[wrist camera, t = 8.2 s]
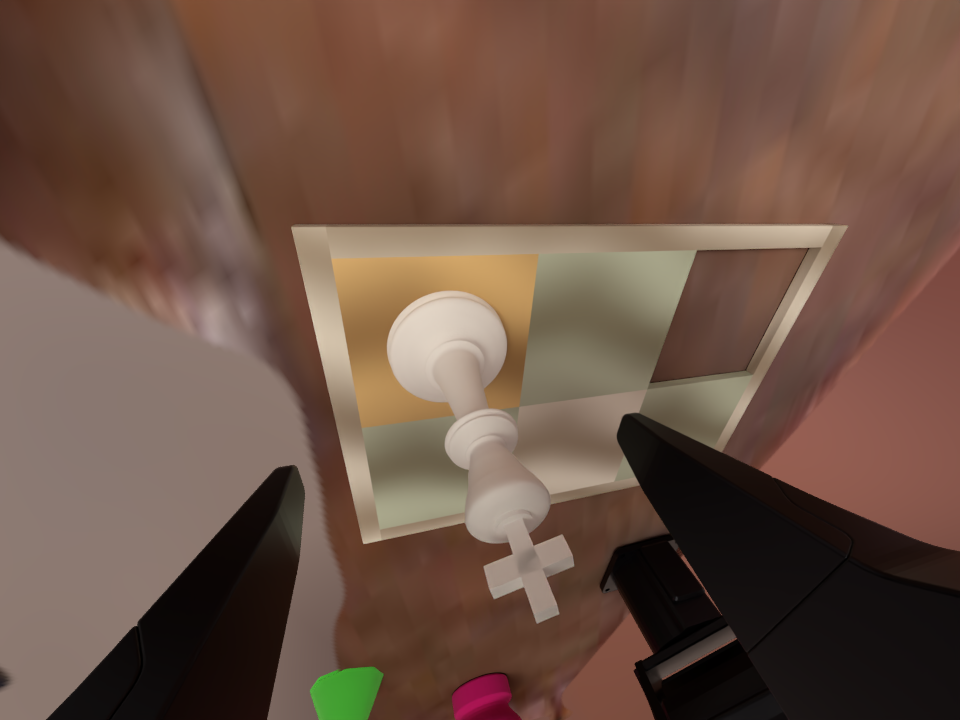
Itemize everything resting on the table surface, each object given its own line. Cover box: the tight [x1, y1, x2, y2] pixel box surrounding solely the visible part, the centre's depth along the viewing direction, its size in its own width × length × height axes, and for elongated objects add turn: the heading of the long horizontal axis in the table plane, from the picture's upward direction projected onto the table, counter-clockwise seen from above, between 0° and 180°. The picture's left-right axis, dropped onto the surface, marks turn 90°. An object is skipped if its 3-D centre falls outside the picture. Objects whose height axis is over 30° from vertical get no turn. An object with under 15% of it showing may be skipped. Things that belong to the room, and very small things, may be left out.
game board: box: [291, 224, 848, 544], centre depth 18 cm, size 17×24×1 cm
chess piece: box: [387, 291, 574, 623], centre depth 10 cm, size 5×5×10 cm
